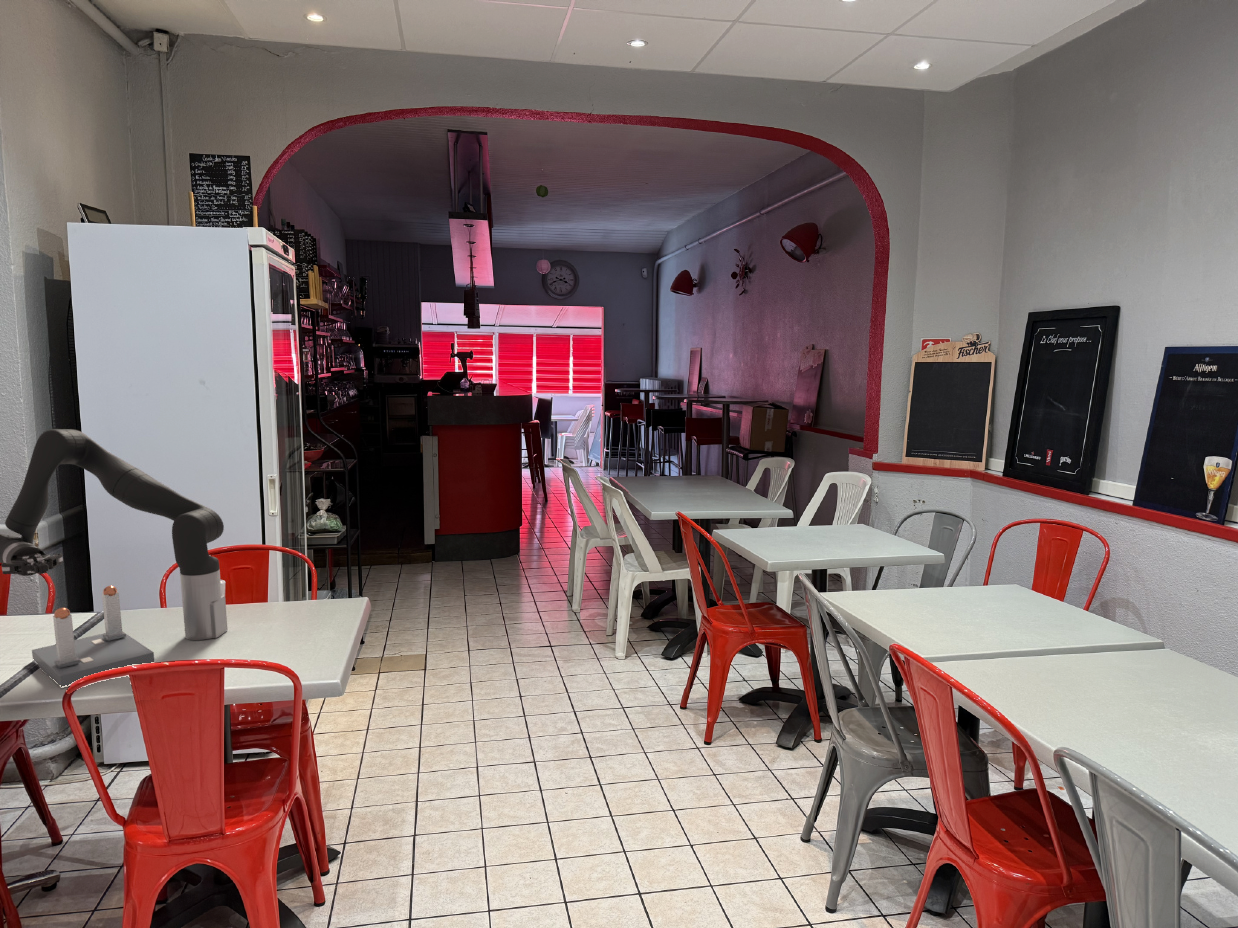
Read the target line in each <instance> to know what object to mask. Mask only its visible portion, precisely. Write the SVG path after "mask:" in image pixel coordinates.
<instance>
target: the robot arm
mask: <svg viewBox="0 0 1238 928" xmlns="http://www.w3.org/2000/svg"><path fill="white" fill-rule="evenodd" d="M60 465H74V466H77V467H79V468H81V469H83V470H86V471H87V472H89V473H91V474H92V475H93V476H95V477H96V479H98V480H99V482H100V483H101V486H102V487H103V488H104V490H105V491H106V493H108V495H110V496H111V497H113V498H115V499H116V500H117V501H119V502H121V503H123V504H124V505H125V506H128V507H130V508H132V509H135V510H137V511H141V512H144V513H148V514H152V515H155V516H160V517H164V518H166V519H169V520H171V521H173V523H172V526H171V537H172V538H171V540H172V544H173V553H174V560H175V562H176V564H177V567H178V569H179V576H180V590H181V601H182V612H183V623H184V625H183V626H184V635H185V639H187V640H191V641H203V640H208V639H216V638H217V639H218V638H219V637H220V636H222V635H223V634H224V633H226V632H227V631H228V618H227V617H228V616H227V606H226V605H227V604H226V602H227V601H226V595H225V596H222V594H221V581H220V580H221V570H220V560H219V559H218V558H217V557H215V556H213V555H212V556H211V555H210V554H209V550H208V549H209V548H208V544H209V543H211V542H214V541H216V540H218V538H220V537H221V536H222V535H223V533H224V531H225V529H224V528H225V527H224V525H225V524H224V522H223V519H222V517H221V516H220V515H219V514H218V513H217V512H216V511H215V510H213V509H211V508H209V507H208V506H205V505H203V504H201V503H199V502H197V501H194V500H192V499H190V498H188V497H185V496H184V495H182V494H180V493H178V492H177V491H176V490H174V489H172V488H170V487H169V486H168V485H165V484H164V483H162V482H160V481H158V480H157V479H156V478H154V477H153V476H152V475H149V474H148V473H145V472H144V471H142V470H141V469H140V468H138V467H136V466H133V465H132V464H131V463H128V462H127V461H125V460H123V459H122V458H120V457H118V456H117V455H115V454H112V452H109V451H108V450H107V449H106V448H104V447H103V446H101V445H100V444H98V443H97V442H96V441H95V440H93V439H92V438H91V437H89V436H88V435H87V434H85V433H84V432H82V431H80V430H78V429H72V428H70V429H68V428H67V429H66V428H62V429H61V428H52V429H48V430H45V431H43V433H41V434H40V435H39V437H38V438H37V440H36V442H35V445H34V447H33V451H32V454H31V458H30V461H29V465H28V468H27V470H26V473H25V474H26V475H25V478H24V480H23V484H22V486H21V488H20V491H19V493H18V496H17V498H16V499H15V502H14V504H13V505H12V506H11V509H10V511H9V513H8V515H7V517H6V519H5V522H4V525H5V527H6V528H7V529H8V530H10V531H11V532H14V533H16V534H17V535H20V536H21V537H19V536H14V535H9V534H5V533H0V564H1V571H2V572H1V573H2V575H18V576H22V577H30V576H33V575H36V574H38V575H43V574H47V573H48V572H49V571H50V570H53V569H55V568H57V567H59V566H61V565H63V564H64V559H63V553H57V554H54V555H52V556H51V555H50V554H47V553H45V551H43V550H42V549H41V548H39V547H38V546H36V545H34V540H35V534H36V531H37V529H38V526H39V524H40V523H41V521H42V519H43V517H44V515H45V514H46V513H45V512H46V511H47V508H48V505H49V486H50V481H51V479H52V476H53V475H54V473H55V471H56V470H57V469H58V467H59V466H60Z"/></svg>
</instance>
